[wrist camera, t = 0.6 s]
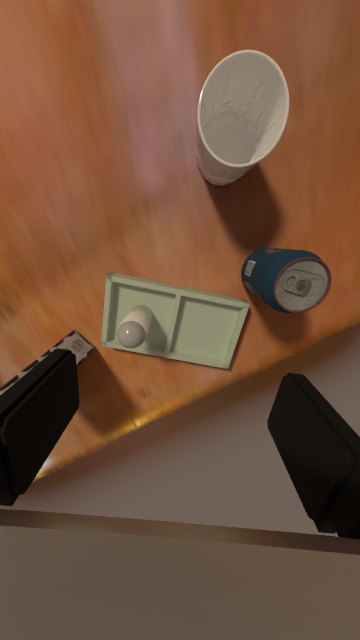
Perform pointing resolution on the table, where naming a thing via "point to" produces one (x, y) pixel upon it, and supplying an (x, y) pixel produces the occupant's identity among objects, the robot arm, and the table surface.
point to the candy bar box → (69, 342)
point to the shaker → (135, 326)
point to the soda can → (287, 278)
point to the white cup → (240, 115)
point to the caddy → (175, 320)
